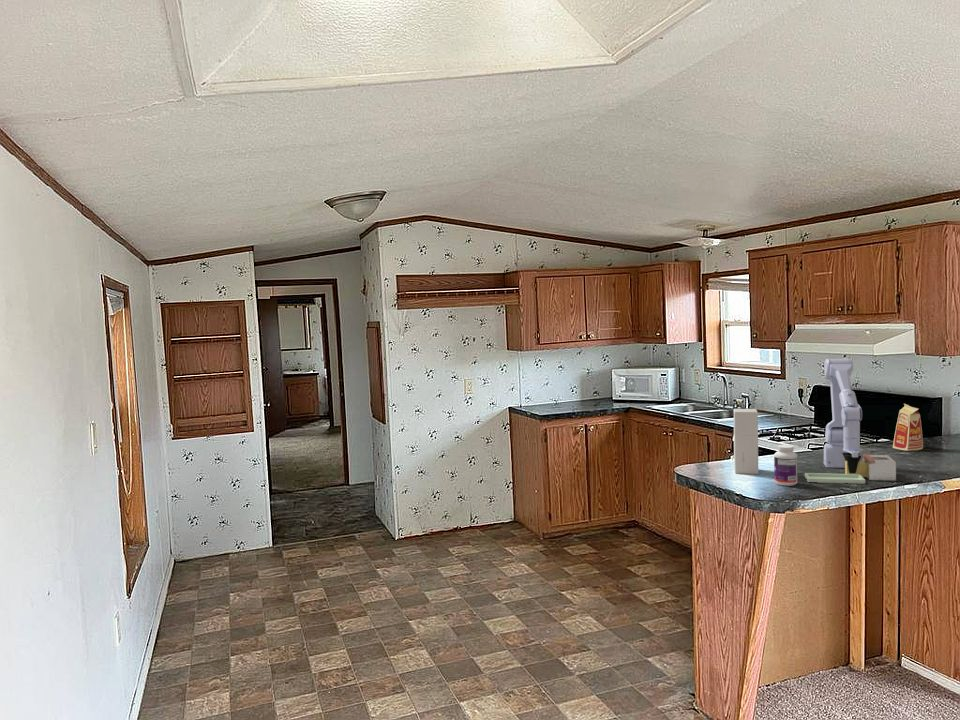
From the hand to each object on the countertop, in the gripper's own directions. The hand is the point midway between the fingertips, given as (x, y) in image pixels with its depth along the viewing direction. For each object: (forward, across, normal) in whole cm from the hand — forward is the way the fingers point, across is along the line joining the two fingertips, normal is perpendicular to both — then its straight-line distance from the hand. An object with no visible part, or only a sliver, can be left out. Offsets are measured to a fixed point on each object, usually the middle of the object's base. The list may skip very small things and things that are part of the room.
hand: (851, 472), depth 300 cm
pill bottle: (+2, -16, +26) cm, 30 cm away
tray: (+1, -8, +8) cm, 11 cm away
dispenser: (+1, 0, -10) cm, 10 cm away
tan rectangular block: (+1, 0, -4) cm, 4 cm away
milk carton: (+2, +58, -34) cm, 67 cm away
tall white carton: (+2, +4, +38) cm, 39 cm away
